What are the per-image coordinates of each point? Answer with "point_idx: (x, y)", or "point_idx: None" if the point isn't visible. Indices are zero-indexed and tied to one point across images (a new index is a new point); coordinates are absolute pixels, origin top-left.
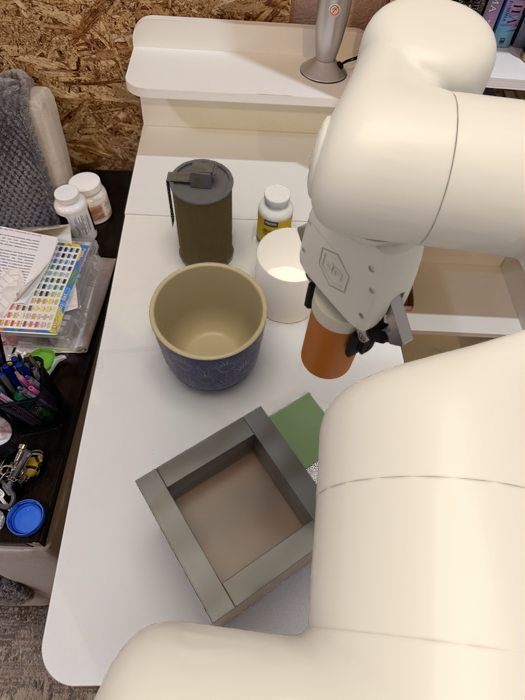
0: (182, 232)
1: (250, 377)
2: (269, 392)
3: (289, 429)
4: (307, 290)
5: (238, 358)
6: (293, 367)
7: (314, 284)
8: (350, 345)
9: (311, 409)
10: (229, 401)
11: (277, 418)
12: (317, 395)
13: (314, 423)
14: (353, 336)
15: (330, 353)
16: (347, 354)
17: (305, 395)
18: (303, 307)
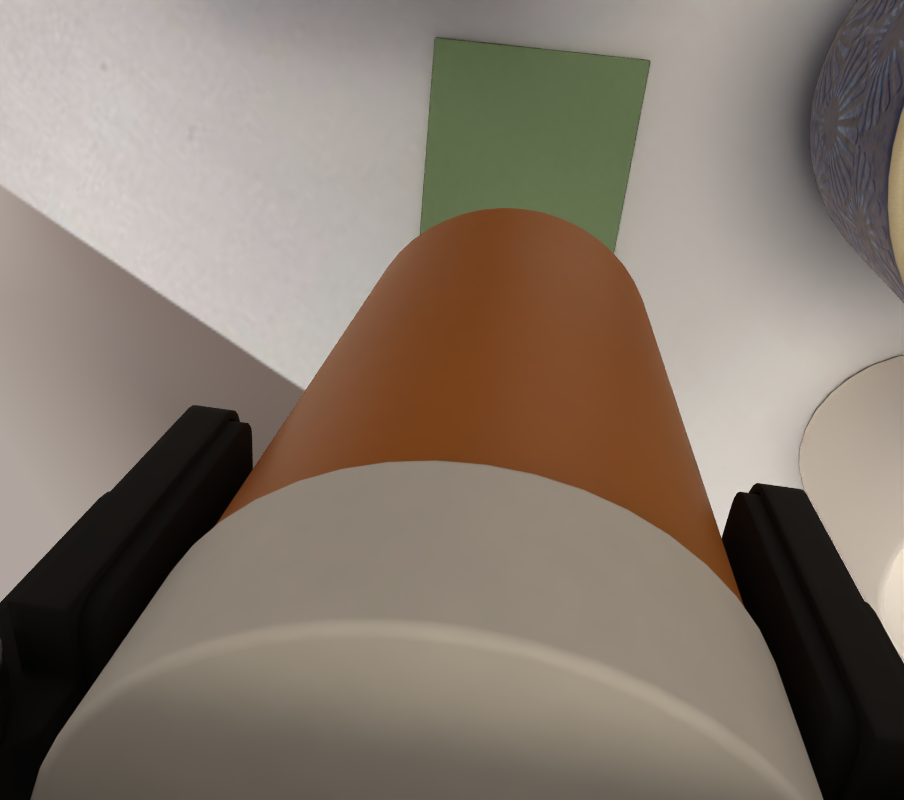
0: None
1: (793, 157)
2: (704, 172)
3: (561, 134)
4: (881, 647)
5: (885, 92)
6: (709, 295)
7: (869, 780)
8: (127, 497)
9: None
10: (786, 33)
11: (616, 128)
12: None
13: None
14: (46, 603)
15: (352, 341)
16: (193, 420)
17: None
18: (833, 462)
